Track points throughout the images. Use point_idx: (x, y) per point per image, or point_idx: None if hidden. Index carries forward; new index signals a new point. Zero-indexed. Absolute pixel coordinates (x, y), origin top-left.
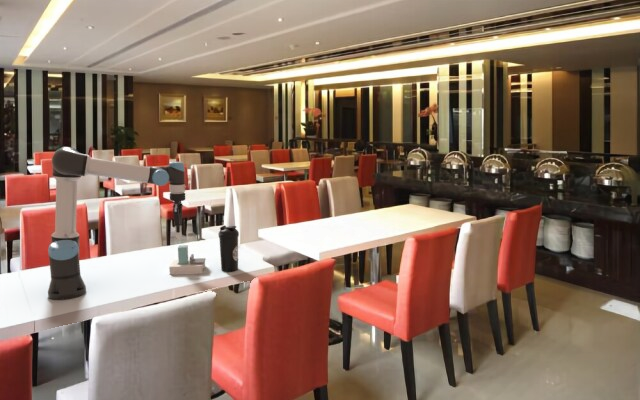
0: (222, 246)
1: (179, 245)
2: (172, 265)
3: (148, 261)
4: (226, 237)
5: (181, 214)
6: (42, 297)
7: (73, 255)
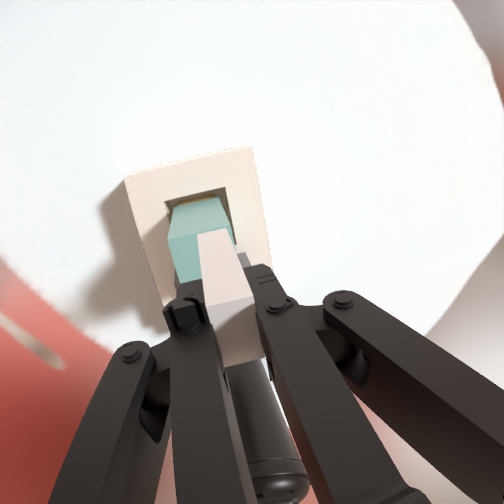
0: None
1: (228, 226)
2: (147, 184)
3: (324, 5)
4: None
5: (408, 440)
6: None
7: None
